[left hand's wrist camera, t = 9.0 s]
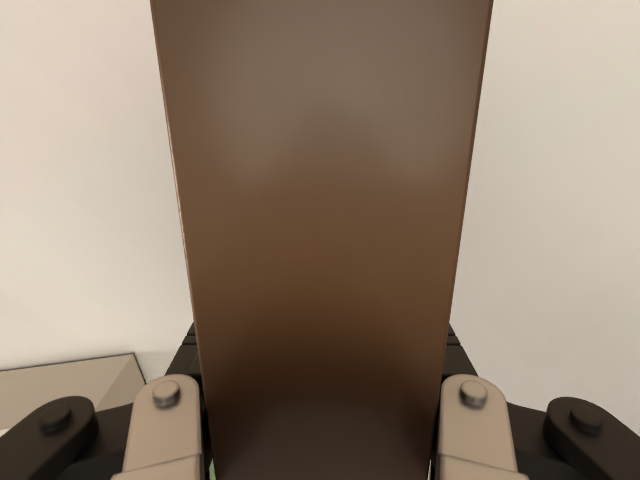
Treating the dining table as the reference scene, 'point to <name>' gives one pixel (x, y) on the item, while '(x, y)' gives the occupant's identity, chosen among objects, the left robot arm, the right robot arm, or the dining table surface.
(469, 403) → the left robot arm
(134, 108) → the dining table surface
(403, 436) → the beam
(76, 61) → the dining table surface
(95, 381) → the decorative block
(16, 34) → the dining table surface
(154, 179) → the dining table surface
